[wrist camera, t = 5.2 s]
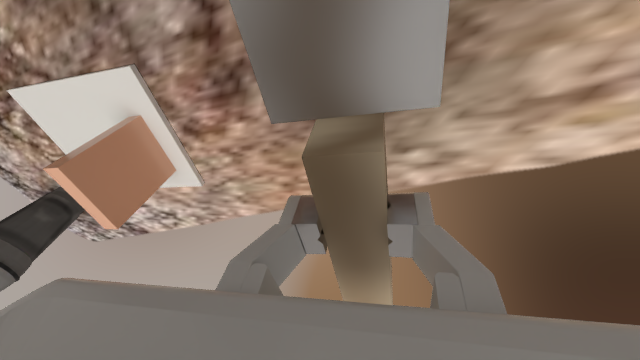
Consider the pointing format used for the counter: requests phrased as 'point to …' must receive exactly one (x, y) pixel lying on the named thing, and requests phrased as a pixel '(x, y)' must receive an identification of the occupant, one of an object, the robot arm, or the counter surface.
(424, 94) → the turner
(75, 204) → the beverage cup
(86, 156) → the tile
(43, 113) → the mat
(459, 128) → the counter surface
